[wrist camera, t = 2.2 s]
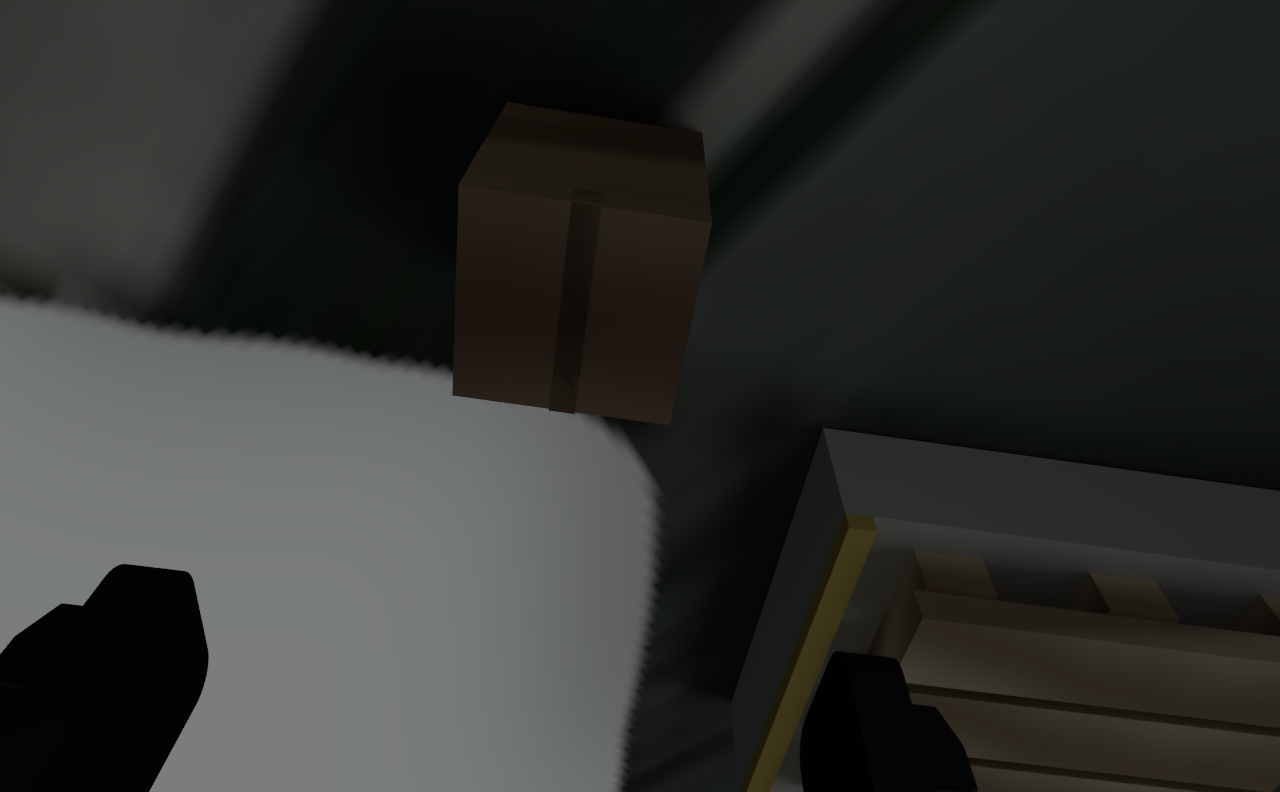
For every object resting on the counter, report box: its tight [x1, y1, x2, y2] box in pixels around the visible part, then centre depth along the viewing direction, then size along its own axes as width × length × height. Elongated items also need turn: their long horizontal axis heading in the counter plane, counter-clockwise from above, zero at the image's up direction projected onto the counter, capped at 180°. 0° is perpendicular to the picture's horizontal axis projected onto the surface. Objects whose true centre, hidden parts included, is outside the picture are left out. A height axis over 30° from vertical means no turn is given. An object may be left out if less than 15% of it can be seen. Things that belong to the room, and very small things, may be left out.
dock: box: [731, 428, 1280, 792], centre depth 29 cm, size 14×16×5 cm
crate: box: [453, 102, 712, 425], centre depth 20 cm, size 5×5×6 cm
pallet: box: [867, 550, 1280, 792], centre depth 27 cm, size 12×13×2 cm
